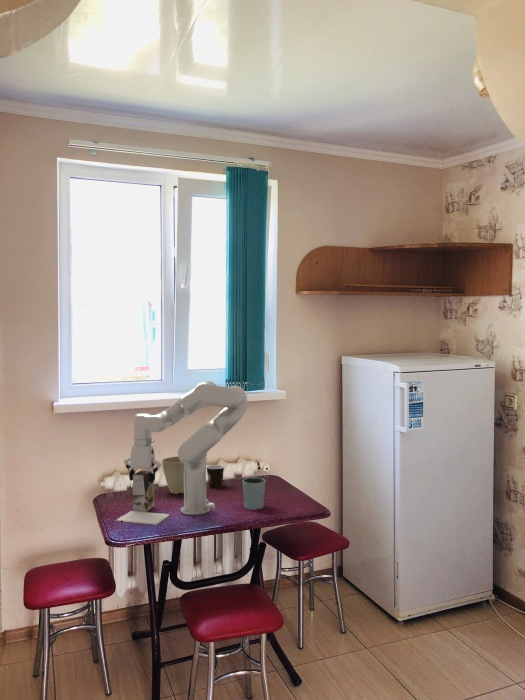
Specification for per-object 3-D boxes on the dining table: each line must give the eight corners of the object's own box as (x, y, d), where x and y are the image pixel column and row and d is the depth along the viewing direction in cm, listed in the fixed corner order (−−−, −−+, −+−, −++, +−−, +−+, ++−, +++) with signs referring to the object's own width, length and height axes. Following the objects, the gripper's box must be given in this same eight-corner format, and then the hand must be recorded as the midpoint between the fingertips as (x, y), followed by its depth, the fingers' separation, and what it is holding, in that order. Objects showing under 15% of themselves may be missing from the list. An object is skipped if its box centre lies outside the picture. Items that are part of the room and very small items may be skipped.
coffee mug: (206, 484, 292) (206, 465, 292) (223, 484, 293) (223, 464, 293) (207, 491, 280) (206, 470, 280) (224, 490, 281) (224, 470, 281)
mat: (169, 515, 242) (169, 514, 242) (156, 524, 231) (156, 523, 231) (130, 512, 247) (130, 511, 247) (116, 521, 236) (116, 519, 236)
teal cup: (249, 502, 261) (249, 476, 260) (269, 505, 256) (269, 478, 256) (238, 508, 252) (238, 481, 251) (259, 511, 247) (259, 483, 247)
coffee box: (146, 512, 247) (146, 475, 247) (132, 511, 248) (132, 474, 248) (154, 506, 256) (154, 470, 256) (141, 505, 257) (140, 469, 257)
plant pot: (185, 486, 289) (185, 454, 289) (198, 493, 277) (197, 460, 276) (157, 490, 282) (157, 458, 281) (169, 497, 269) (168, 464, 269)
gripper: (164, 441, 253) (163, 480, 253) (129, 439, 257) (128, 477, 258) (156, 445, 245) (156, 484, 246) (120, 442, 250) (120, 481, 251)
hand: (142, 480), depth 252 cm, fingers open, 9 cm apart
